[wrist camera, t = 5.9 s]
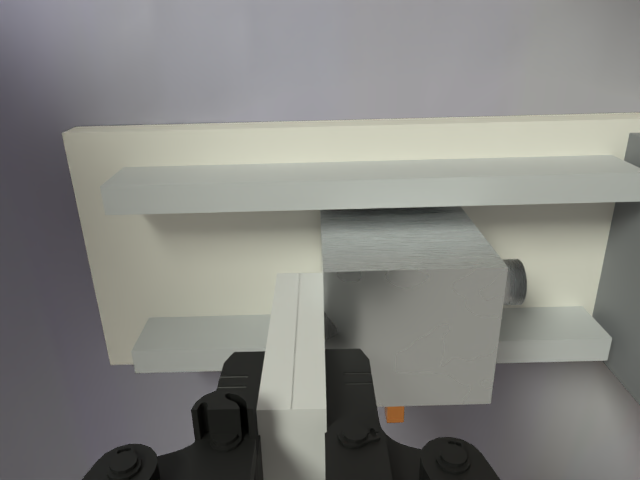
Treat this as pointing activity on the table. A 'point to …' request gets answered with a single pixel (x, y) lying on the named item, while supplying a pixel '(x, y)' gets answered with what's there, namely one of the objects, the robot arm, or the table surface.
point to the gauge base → (356, 193)
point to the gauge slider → (417, 301)
